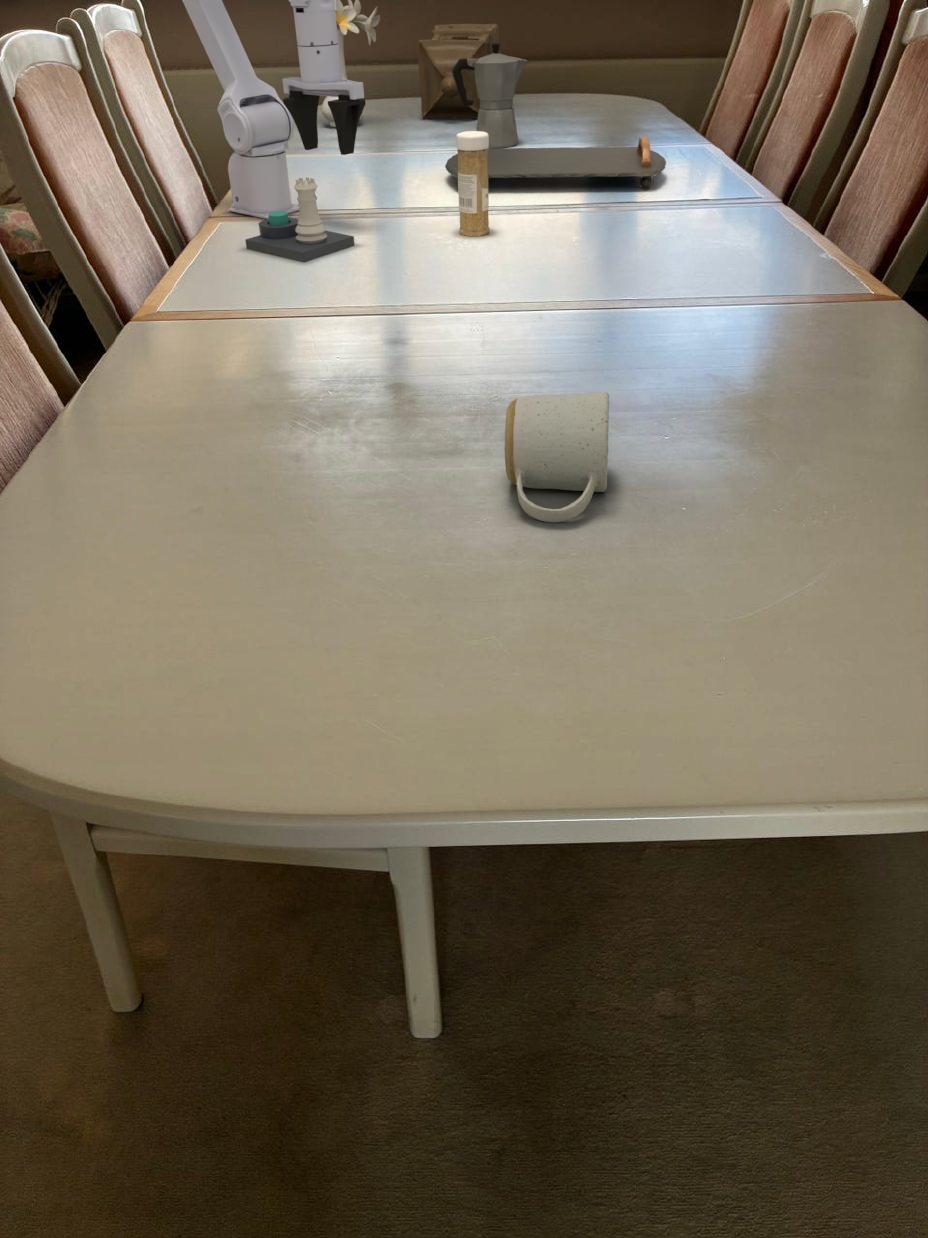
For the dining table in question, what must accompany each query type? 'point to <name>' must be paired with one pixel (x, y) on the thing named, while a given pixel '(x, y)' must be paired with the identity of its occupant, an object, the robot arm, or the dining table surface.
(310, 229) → the rook chess piece
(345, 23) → the flower vase
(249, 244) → the dark grey flat block
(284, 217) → the button
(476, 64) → the coffeepot
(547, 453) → the ceramic mug
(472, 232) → the sprinkles bottle
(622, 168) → the serving tray
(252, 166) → the robot arm
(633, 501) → the dining table surface
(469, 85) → the ornamental box
